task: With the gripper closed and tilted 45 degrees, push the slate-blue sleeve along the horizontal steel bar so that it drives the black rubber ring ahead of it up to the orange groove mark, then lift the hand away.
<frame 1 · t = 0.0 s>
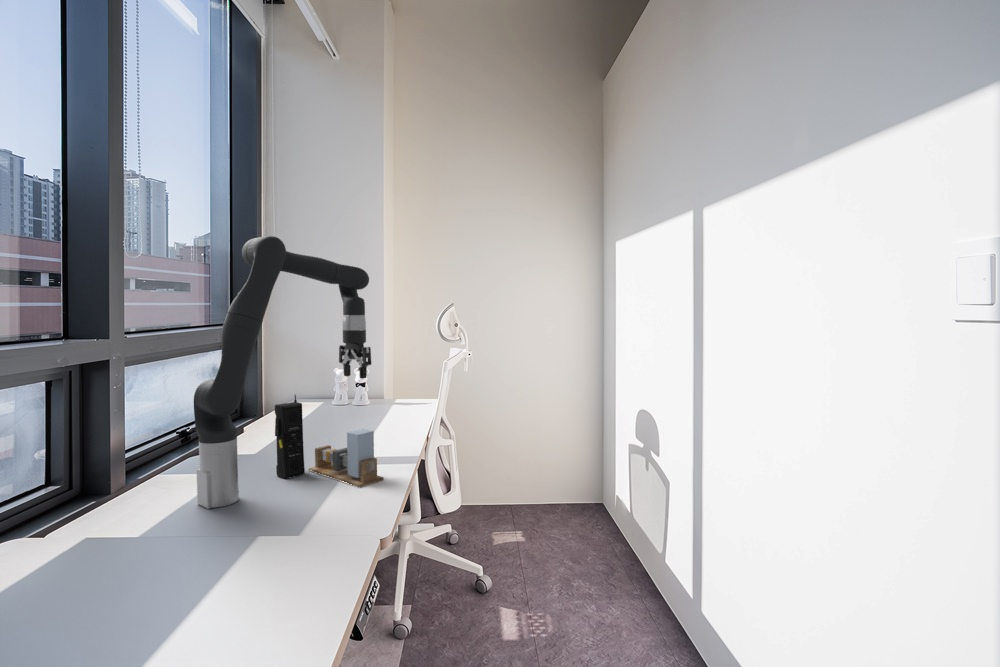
hand: (355, 377, 181), 29 cm above the table, tool pointing down, fingers open, 8 cm apart
stand: (345, 475, 170), on the table
sleeve: (360, 452, 165), point 8 cm above the table, slide at 0.0 cm
portable radio: (289, 476, 170), on the table
pipe: (344, 459, 170), point 5 cm above the table
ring: (343, 458, 171), point 5 cm above the table, slide at 0.0 cm
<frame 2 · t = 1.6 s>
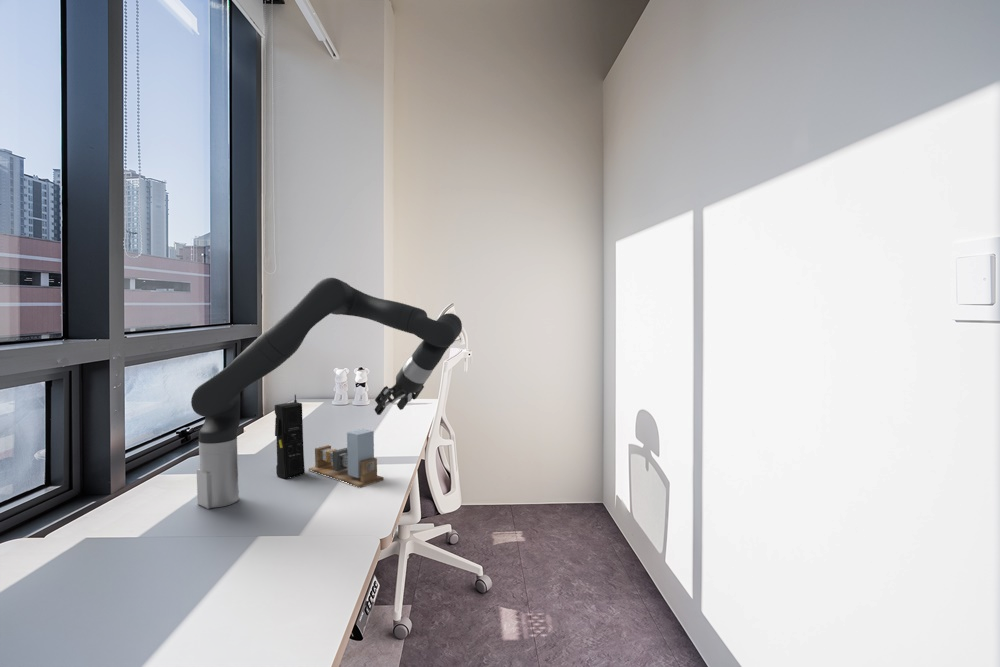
hand: (388, 410, 156), 23 cm above the table, tool tilted 45°, fingers open, 8 cm apart
nothing on the table moved.
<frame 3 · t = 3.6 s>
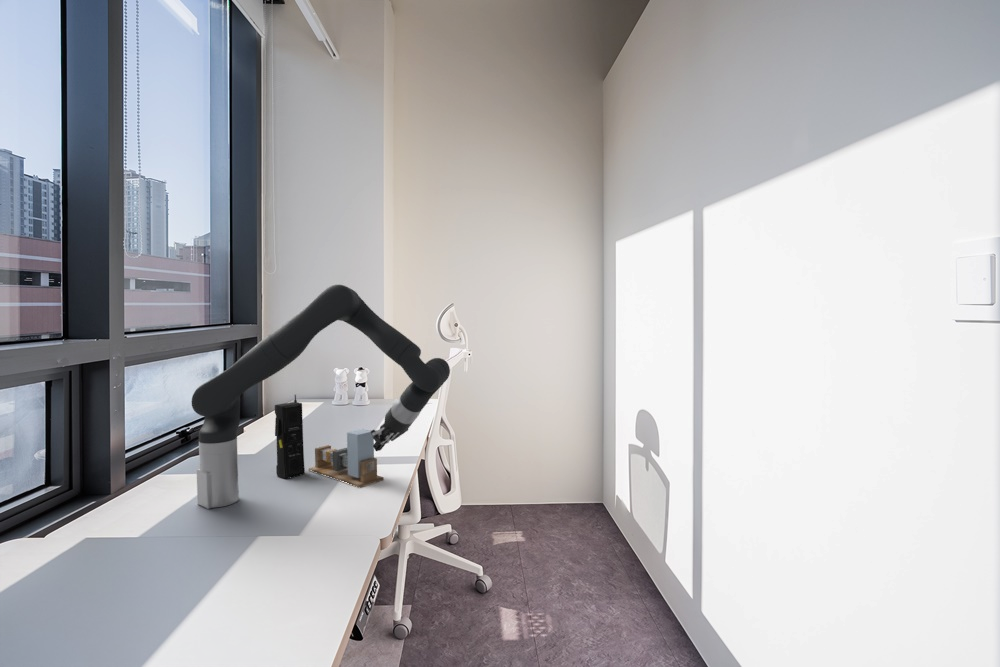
hand: (376, 448, 160), 11 cm above the table, tool tilted 45°, fingers closed
nothing on the table moved.
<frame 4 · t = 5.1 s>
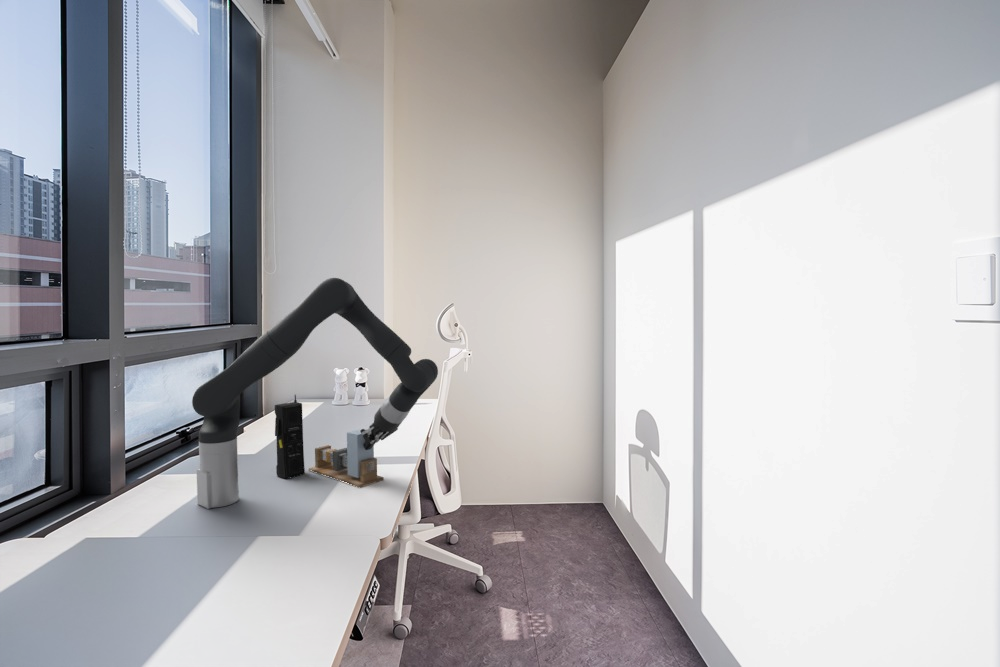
hand: (366, 447, 163), 11 cm above the table, tool tilted 45°, fingers closed
sleeve: (360, 452, 165), point 8 cm above the table, slide at 0.1 cm, touching gripper
everything else where it was.
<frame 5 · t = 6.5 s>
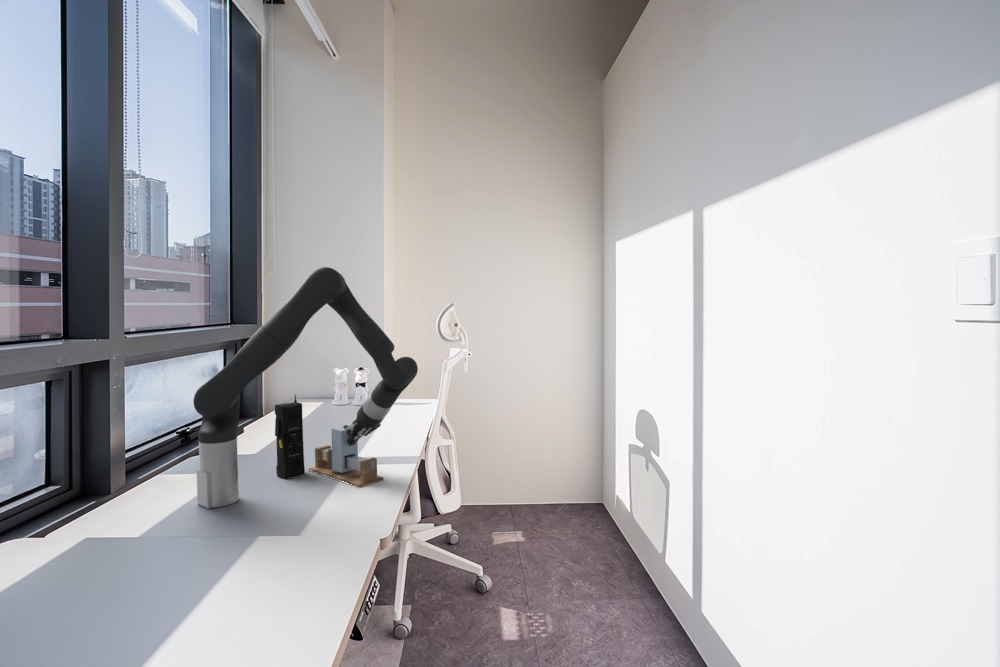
hand: (350, 443, 168), 11 cm above the table, tool tilted 45°, fingers closed
sleeve: (344, 448, 170), point 8 cm above the table, slide at 8.0 cm, touching gripper, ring
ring: (338, 457, 172), point 5 cm above the table, slide at 2.5 cm, touching sleeve
everything else where it was.
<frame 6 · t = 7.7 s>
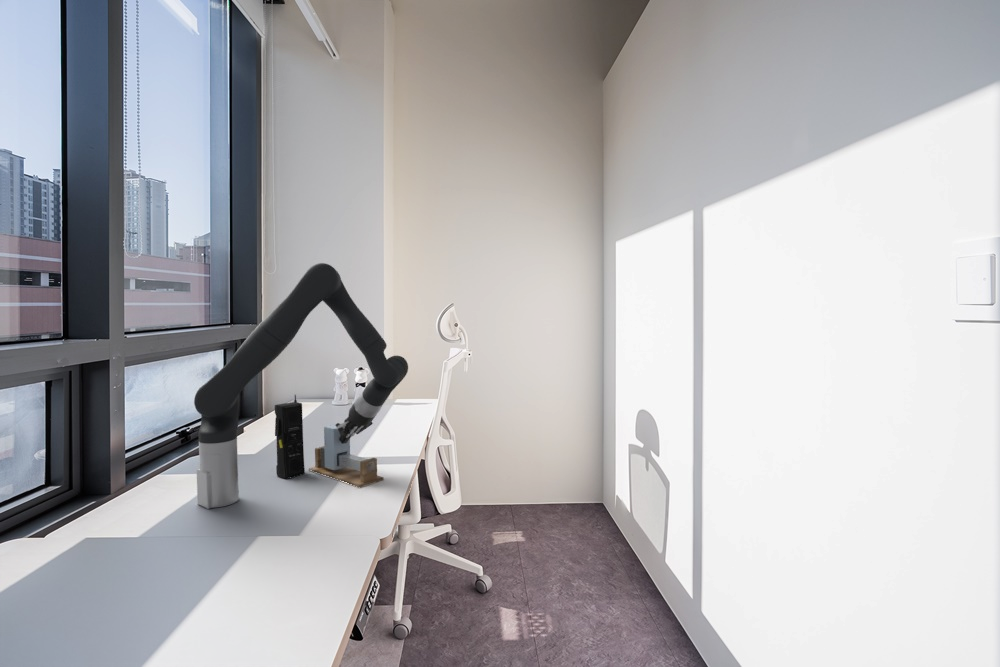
hand: (342, 441, 170), 11 cm above the table, tool tilted 45°, fingers closed
sleeve: (337, 446, 172), point 8 cm above the table, slide at 11.9 cm, touching gripper, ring
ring: (330, 455, 175), point 5 cm above the table, slide at 6.4 cm, touching sleeve
everything else where it was.
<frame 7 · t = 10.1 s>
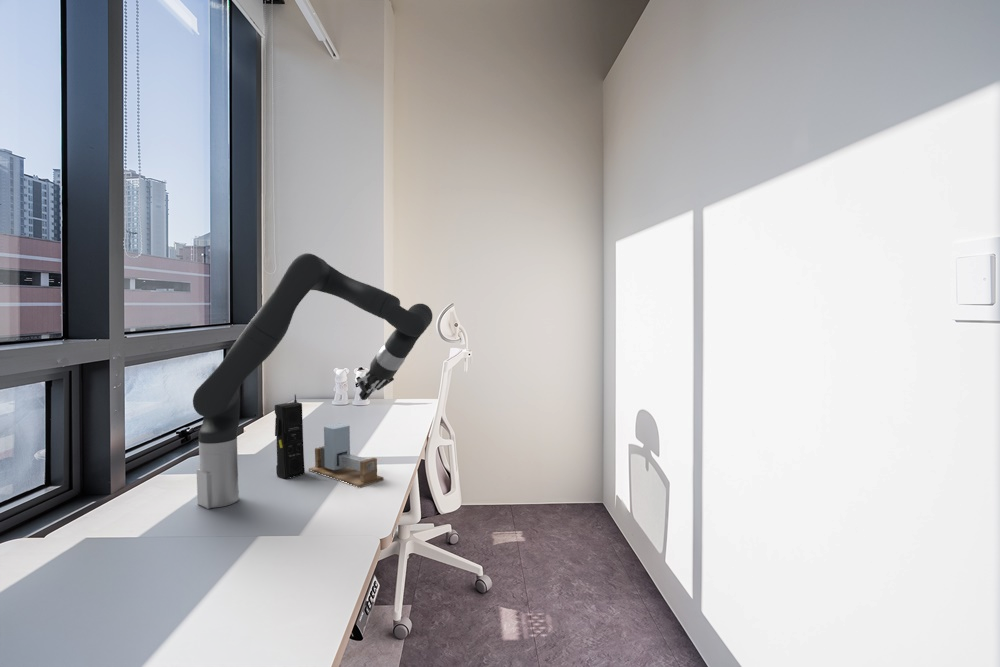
hand: (362, 397, 163), 26 cm above the table, tool tilted 45°, fingers closed
sleeve: (337, 446, 172), point 8 cm above the table, slide at 12.0 cm, touching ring
everything else where it was.
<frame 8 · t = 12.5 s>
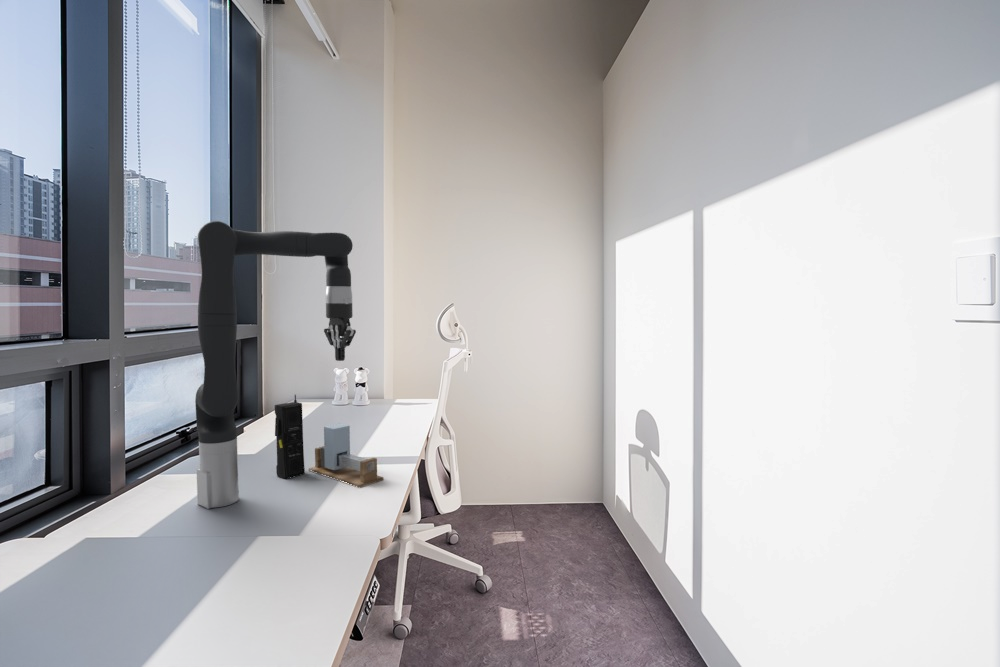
hand: (340, 360, 161), 37 cm above the table, tool pointing down, fingers closed
nothing on the table moved.
at the end: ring slide at 6.5 cm; sleeve slide at 12.0 cm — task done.
